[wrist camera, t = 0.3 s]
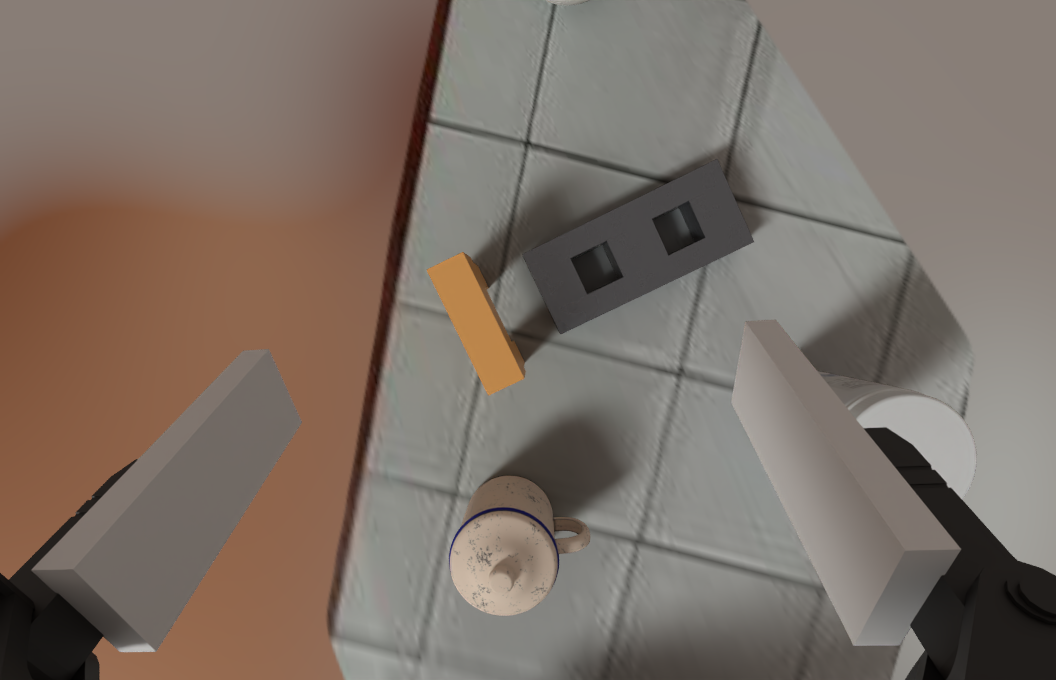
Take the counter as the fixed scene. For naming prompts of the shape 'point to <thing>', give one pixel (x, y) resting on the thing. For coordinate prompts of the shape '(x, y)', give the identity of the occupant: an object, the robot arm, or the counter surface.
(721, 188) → the graphite rail
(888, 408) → the supplement tub
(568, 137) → the counter surface
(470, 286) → the orange clip
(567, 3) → the lidded jar
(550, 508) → the teacup with lid
